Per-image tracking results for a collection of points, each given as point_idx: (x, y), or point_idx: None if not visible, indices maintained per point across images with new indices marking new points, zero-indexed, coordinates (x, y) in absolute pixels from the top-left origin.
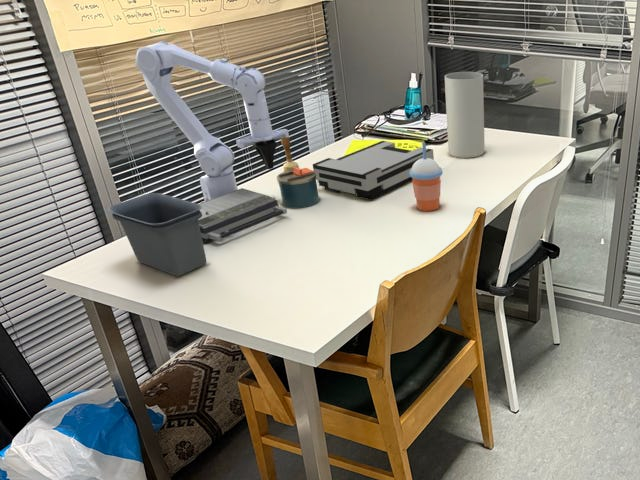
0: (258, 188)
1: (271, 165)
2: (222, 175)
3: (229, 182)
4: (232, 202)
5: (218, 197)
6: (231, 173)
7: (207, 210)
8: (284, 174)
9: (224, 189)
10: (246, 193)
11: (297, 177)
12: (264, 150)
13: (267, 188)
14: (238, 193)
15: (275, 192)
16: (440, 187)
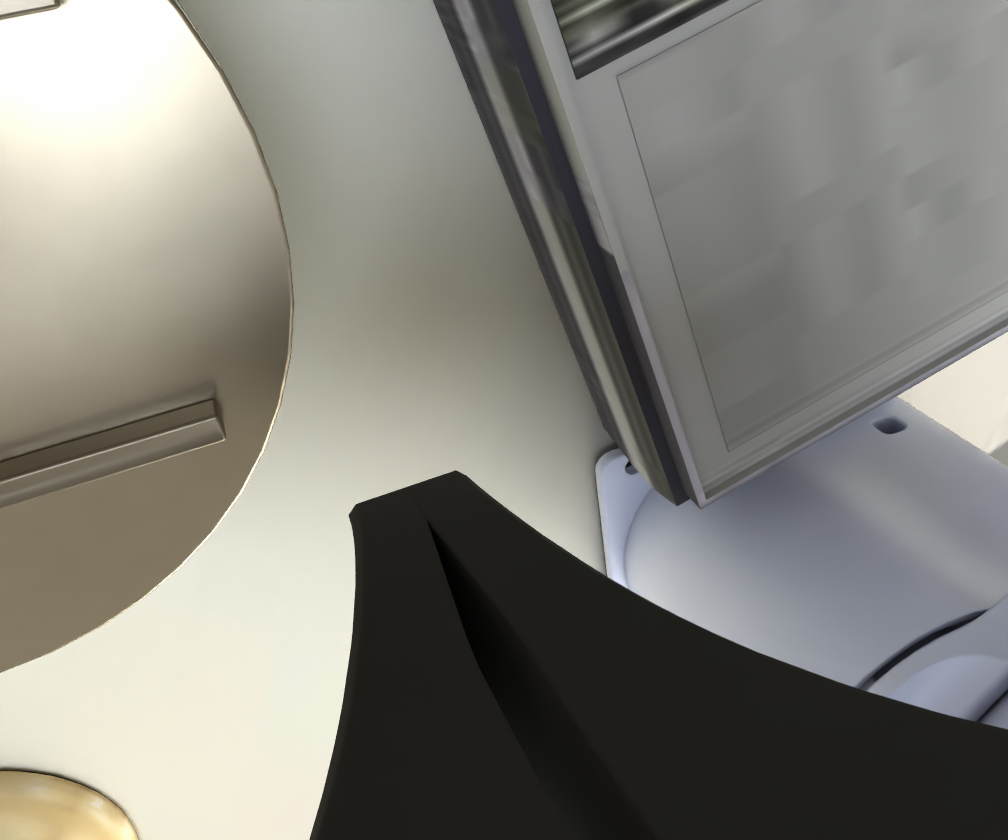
0: None
1: (408, 519)
2: (1004, 605)
3: (853, 570)
4: (989, 40)
5: (992, 328)
6: (863, 679)
7: None
8: (92, 442)
9: (873, 508)
10: (723, 311)
11: None
12: (844, 766)
13: (302, 746)
14: (794, 356)
15: (243, 624)
16: None
